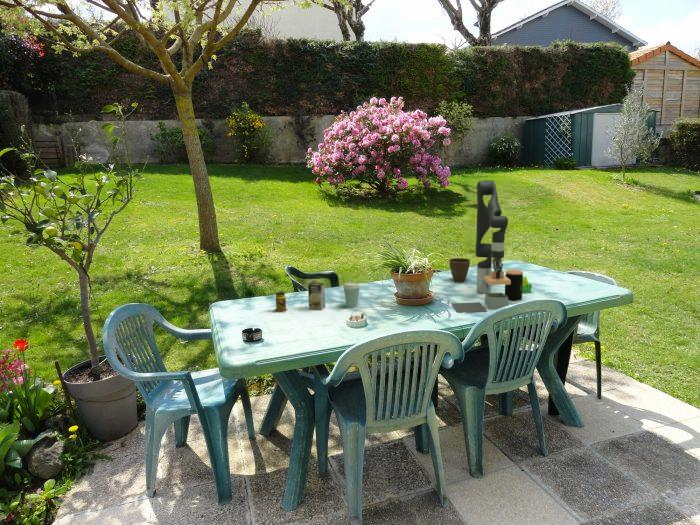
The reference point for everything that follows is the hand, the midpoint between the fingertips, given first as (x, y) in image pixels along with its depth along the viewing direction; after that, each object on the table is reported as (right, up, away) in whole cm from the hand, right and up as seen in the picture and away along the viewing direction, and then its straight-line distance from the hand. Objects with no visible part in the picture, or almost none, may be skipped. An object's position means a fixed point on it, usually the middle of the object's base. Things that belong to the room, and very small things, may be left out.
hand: (497, 277), depth 302 cm
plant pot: (-9, -5, +64) cm, 65 cm away
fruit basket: (+26, -11, +32) cm, 43 cm away
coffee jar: (+15, -15, +18) cm, 28 cm away
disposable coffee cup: (-88, -19, +14) cm, 91 cm away
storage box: (0, -18, +4) cm, 18 cm away
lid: (0, -3, +1) cm, 3 cm away
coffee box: (-109, -20, +12) cm, 112 cm away
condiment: (-132, -21, +10) cm, 134 cm away
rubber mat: (-17, -19, +3) cm, 25 cm away
